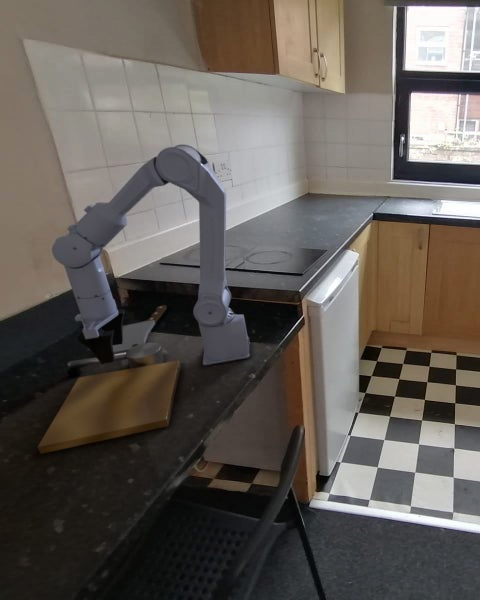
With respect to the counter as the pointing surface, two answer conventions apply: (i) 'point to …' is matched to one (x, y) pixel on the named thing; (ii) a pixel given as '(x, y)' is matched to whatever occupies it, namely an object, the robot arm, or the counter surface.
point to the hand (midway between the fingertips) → (112, 352)
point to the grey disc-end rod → (135, 356)
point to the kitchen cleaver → (138, 332)
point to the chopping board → (114, 406)
